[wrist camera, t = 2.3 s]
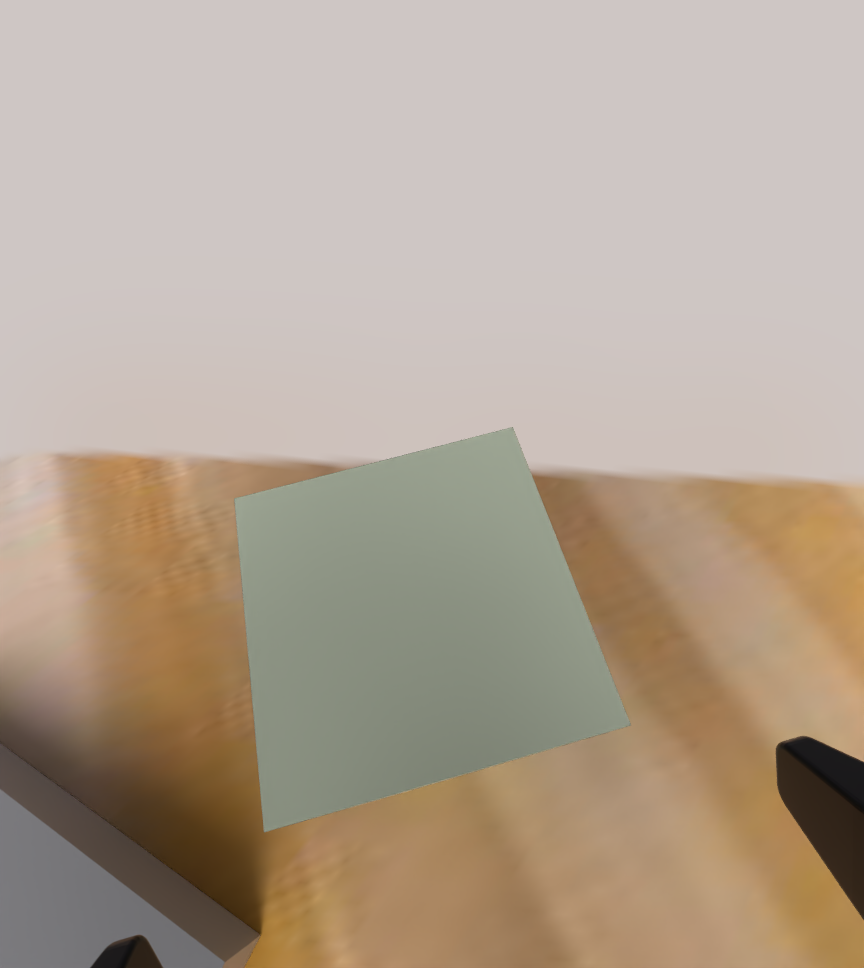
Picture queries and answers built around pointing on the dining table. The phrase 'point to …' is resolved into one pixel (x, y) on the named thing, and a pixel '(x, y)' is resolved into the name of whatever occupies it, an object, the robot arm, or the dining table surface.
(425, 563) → the sage block
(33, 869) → the slate slab
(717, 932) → the dining table surface
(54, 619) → the dining table surface
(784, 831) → the dining table surface
